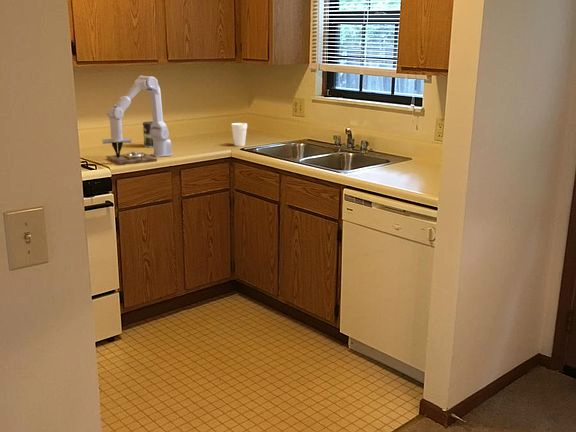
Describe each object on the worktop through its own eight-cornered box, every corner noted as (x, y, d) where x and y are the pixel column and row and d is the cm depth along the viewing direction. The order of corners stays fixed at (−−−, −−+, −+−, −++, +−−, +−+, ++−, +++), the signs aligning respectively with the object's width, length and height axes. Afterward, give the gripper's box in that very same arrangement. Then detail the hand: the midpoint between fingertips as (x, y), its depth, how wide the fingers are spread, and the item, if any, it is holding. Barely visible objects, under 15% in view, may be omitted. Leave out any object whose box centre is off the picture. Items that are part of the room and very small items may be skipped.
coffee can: (145, 148, 363) (144, 124, 359) (142, 145, 372) (141, 121, 368) (162, 147, 366) (161, 123, 362) (160, 144, 375) (158, 121, 371)
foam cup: (229, 146, 372) (229, 124, 368) (234, 143, 381) (234, 122, 377) (244, 147, 370) (244, 125, 366) (249, 144, 378) (249, 123, 375)
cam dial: (128, 154, 335) (128, 149, 334) (146, 154, 334) (146, 149, 333) (119, 159, 321) (118, 154, 320) (138, 159, 320) (137, 154, 319)
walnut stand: (142, 155, 341) (142, 147, 340) (156, 161, 326) (156, 152, 324) (107, 158, 331) (106, 150, 329) (120, 165, 315) (119, 156, 313)
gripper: (101, 132, 311) (103, 159, 315) (131, 131, 314) (132, 157, 318) (101, 130, 317) (103, 156, 321) (130, 129, 321) (132, 155, 325)
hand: (118, 157), depth 320 cm, fingers closed
